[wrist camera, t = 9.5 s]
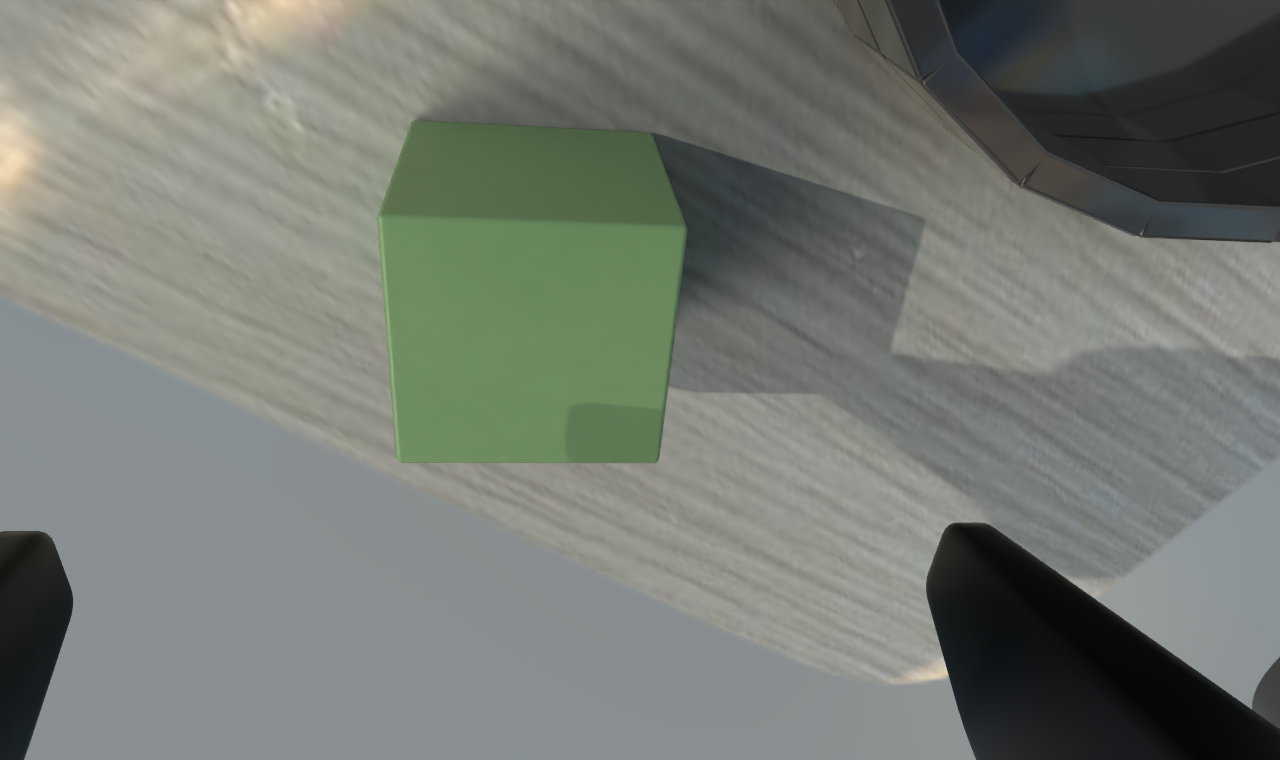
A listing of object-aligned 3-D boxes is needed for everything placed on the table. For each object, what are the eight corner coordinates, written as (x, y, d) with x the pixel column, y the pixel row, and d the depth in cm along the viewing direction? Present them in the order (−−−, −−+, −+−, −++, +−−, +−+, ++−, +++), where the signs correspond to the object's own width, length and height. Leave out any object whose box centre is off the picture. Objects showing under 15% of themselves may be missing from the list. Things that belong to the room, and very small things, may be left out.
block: (652, 131, 15) (689, 226, 12) (633, 335, 17) (659, 465, 14) (410, 118, 14) (376, 214, 11) (422, 330, 17) (395, 464, 13)
